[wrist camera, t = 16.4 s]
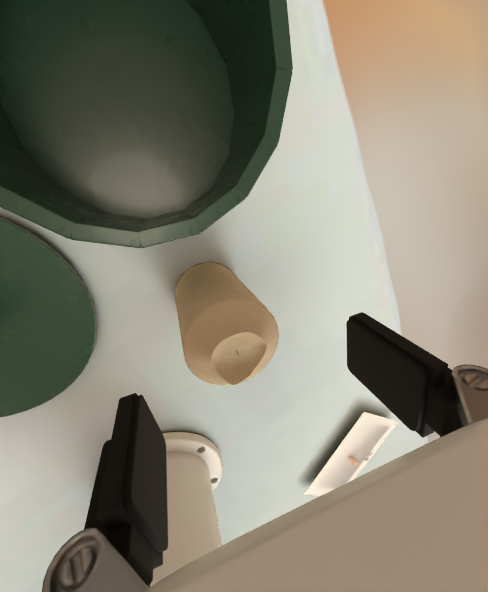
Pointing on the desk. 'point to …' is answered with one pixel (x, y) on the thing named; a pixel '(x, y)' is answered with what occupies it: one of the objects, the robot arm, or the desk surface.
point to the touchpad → (352, 453)
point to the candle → (223, 326)
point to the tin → (138, 112)
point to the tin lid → (39, 321)
